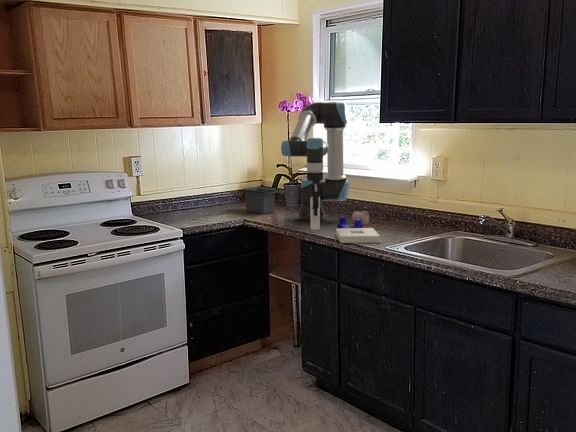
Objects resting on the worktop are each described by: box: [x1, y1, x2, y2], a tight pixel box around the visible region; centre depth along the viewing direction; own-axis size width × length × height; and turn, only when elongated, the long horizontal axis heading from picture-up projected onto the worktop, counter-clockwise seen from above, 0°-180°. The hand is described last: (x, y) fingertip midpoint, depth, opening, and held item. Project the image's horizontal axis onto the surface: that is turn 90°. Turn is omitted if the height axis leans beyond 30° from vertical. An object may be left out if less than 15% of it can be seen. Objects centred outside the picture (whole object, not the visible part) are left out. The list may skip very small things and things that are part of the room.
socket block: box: [335, 227, 381, 244], centre depth 261 cm, size 18×18×3 cm
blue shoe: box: [336, 216, 362, 228], centre depth 280 cm, size 12×4×6 cm, turn 44°
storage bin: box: [242, 186, 277, 215], centre depth 335 cm, size 21×16×14 cm
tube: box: [310, 197, 321, 231], centre depth 259 cm, size 4×4×15 cm
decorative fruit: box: [350, 209, 370, 228], centre depth 283 cm, size 9×8×10 cm
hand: (315, 221), depth 260 cm, fingers closed on tube, 4 cm apart
